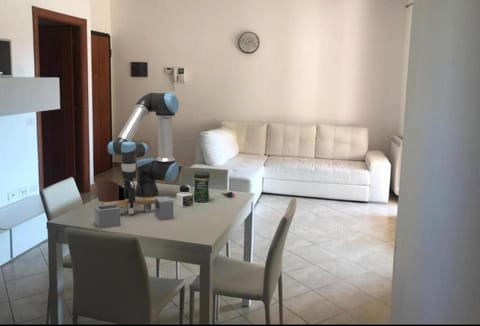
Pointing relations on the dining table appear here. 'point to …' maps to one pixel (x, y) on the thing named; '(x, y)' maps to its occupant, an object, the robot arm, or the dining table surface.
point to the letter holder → (110, 191)
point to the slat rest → (147, 208)
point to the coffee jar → (201, 186)
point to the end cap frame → (111, 213)
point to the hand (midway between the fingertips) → (129, 211)
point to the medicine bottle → (184, 197)
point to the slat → (137, 202)
